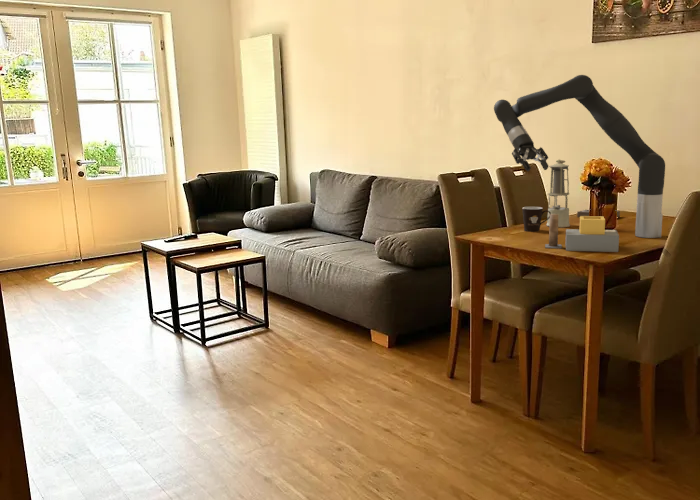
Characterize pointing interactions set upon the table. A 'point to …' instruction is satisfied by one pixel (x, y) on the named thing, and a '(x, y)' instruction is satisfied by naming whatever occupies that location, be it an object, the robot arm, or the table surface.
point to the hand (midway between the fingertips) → (538, 169)
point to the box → (586, 213)
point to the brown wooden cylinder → (553, 230)
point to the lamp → (559, 193)
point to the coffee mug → (533, 218)
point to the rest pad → (553, 247)
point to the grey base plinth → (592, 236)
